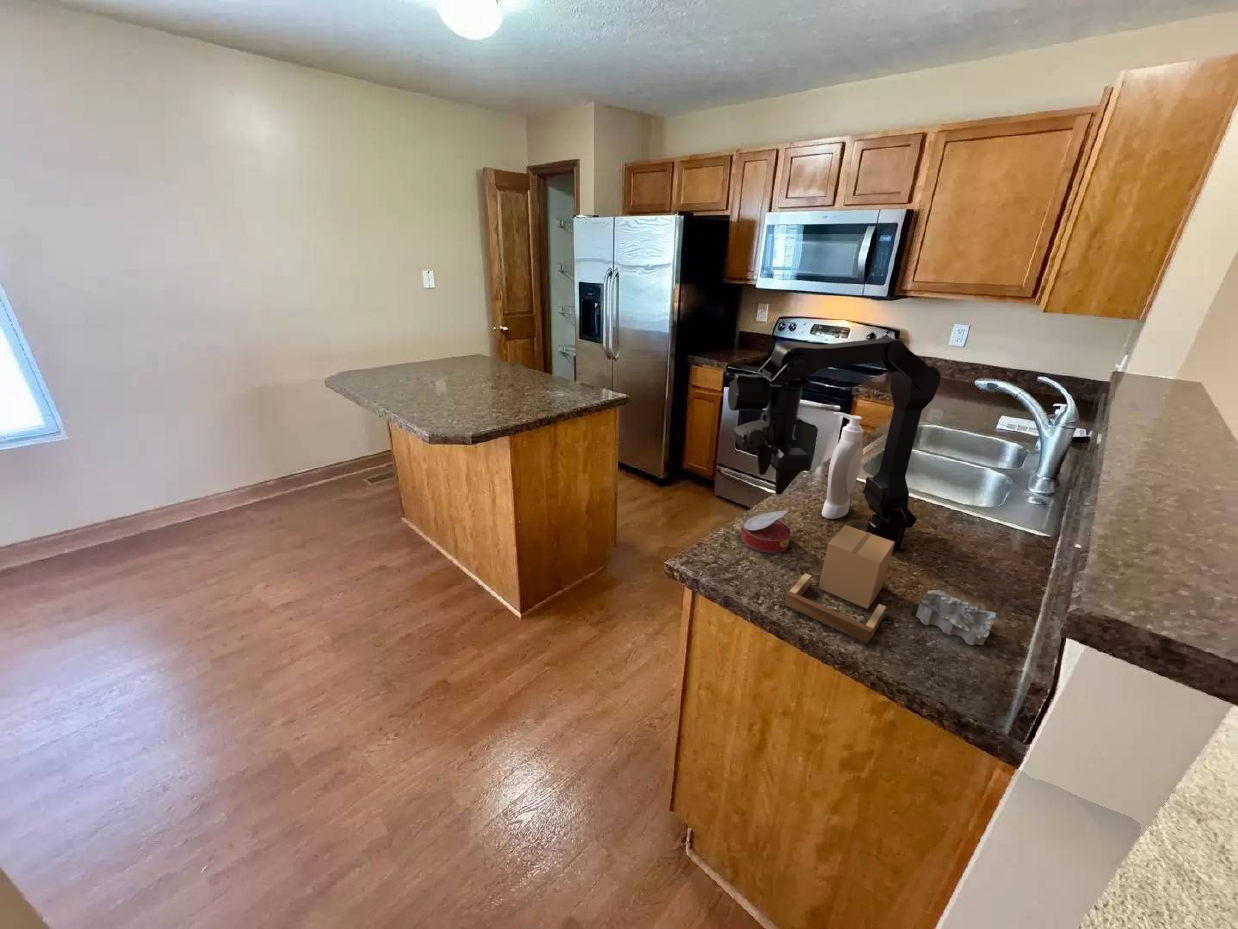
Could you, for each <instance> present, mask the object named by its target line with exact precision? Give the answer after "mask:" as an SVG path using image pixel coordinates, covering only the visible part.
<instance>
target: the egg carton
mask: <svg viewBox="0 0 1238 929" xmlns="http://www.w3.org/2000/svg"><path fill="white" fill-rule="evenodd" d="M918 604H919V605H918V609H917V611H916V614H915V617H916V618H917V619H919V620H920V622H921V624H923V625H925V626H930V625H932V626H936V627H938V628H939V629H941V630H942V633H943V634H946V635H949V636H952V635H956V636H959V637H961V638H962V639H963V640H964V641H965V644H968V645H969V646H975V645H977V646H978V645H979V646H984V644H985V641H986V639H987V638H988V636H989V635H990V630H992V626H993V624H994V622H995V620H996V615H997V612H994V611H990V610H989V611H988V610H986V609H981V608H979V607H978V606H973V605H972V604H971V602H966V601H964V600H962V599H959V598H956V597H953V596H951V595H949V594H948V593H947V592H945V591H943V590H939V589H933V590H927V591H926V592H925V594H924V595H923V597H922V598H921V599H920V601H919V602H918Z"/></svg>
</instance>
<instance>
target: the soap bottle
mask: <svg viewBox="0 0 1238 929" xmlns="http://www.w3.org/2000/svg"><path fill="white" fill-rule="evenodd" d="M833 415H836V416H840V417H843V418H845V419H847V420H849V422H848V423H846V425H845V426H843V427H842V430H841V434H840V439H839V441H838V443H837V444H836V446H835V448H834V449H833V451H832V454H831V458H830V462H829V467H828V474H827V491H826V499H825V501H824V504H823V507H822V510H821V515H822V517H823V518H825V519H828V520H835V519H839V518H842V517H845V516H846V515H847V514H848V513H849V510H850V506H851V505H850V504H851V498H850V497H851V496H852V492H853V490H854V488H855V486H856V482H857V480H858V477H859V473H860V470H861V467H862V463H863V458H864V442H863V441H862V440H863V436H864V431H865V430H864V429H863V428H862V425H860V423H861V420H862V416H860V415H855V414H854V415H853V414H852V415H851V414H847V413H845V412H840V411H834V412H833Z"/></svg>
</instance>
